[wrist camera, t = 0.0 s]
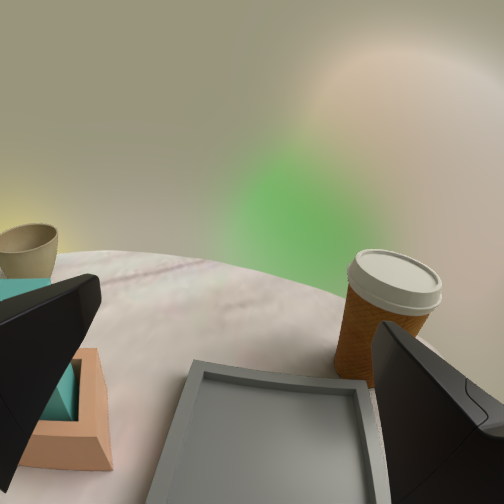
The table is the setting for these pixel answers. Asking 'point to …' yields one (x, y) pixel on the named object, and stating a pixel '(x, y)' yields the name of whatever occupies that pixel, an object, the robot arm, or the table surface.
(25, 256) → the flower pot
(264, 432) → the tray
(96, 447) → the holder
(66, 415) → the teal block
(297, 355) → the table surface
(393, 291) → the disposable coffee cup
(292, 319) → the table surface
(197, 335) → the table surface
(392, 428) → the robot arm
